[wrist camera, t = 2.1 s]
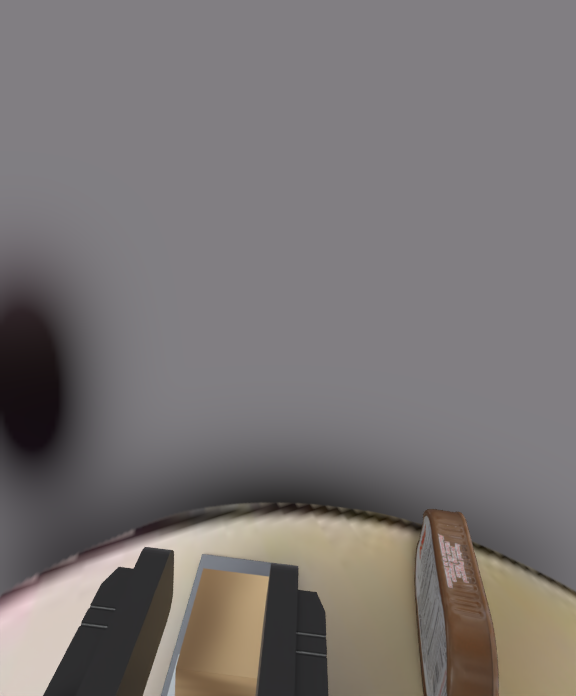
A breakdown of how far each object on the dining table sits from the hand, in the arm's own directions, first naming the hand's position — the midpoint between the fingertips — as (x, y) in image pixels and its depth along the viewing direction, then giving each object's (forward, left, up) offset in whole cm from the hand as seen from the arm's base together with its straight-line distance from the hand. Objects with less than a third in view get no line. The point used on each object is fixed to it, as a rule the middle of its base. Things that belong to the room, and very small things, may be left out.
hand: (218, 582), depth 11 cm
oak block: (0, -6, -19) cm, 20 cm away
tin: (-14, -14, -20) cm, 28 cm away
